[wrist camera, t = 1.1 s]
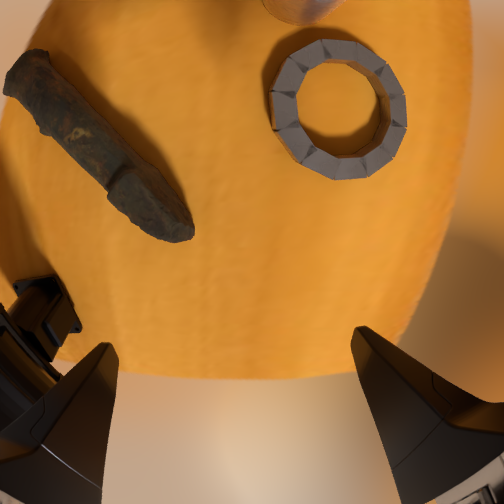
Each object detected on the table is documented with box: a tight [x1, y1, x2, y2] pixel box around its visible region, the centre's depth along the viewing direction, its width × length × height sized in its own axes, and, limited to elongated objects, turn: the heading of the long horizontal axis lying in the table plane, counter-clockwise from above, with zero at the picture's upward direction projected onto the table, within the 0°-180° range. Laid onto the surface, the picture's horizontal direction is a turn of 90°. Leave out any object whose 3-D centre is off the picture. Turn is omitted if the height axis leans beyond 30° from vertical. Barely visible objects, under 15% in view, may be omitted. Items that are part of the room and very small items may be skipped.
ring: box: [268, 39, 407, 180], centre depth 17 cm, size 10×10×2 cm
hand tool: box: [3, 49, 195, 243], centre depth 15 cm, size 19×4×5 cm, turn 39°
